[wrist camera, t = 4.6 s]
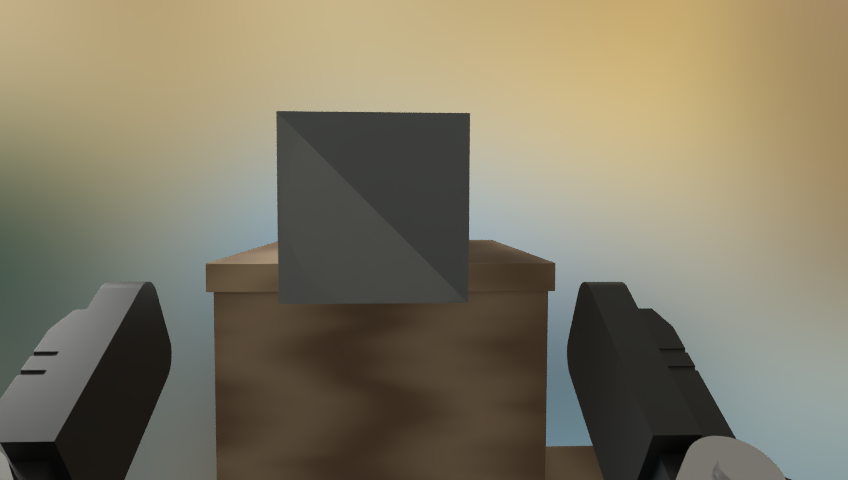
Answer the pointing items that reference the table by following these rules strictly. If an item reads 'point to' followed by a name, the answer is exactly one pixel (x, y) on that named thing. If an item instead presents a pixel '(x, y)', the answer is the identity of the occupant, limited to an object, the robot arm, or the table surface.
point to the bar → (373, 207)
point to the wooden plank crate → (387, 379)
